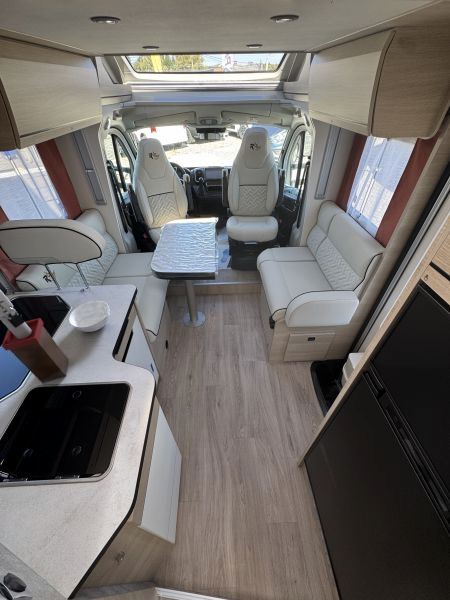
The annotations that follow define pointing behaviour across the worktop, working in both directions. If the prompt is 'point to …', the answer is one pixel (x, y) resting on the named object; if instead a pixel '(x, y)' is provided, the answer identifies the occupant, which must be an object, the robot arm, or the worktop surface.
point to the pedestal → (43, 358)
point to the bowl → (90, 316)
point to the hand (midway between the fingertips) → (11, 319)
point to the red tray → (13, 342)
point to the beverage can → (20, 331)
